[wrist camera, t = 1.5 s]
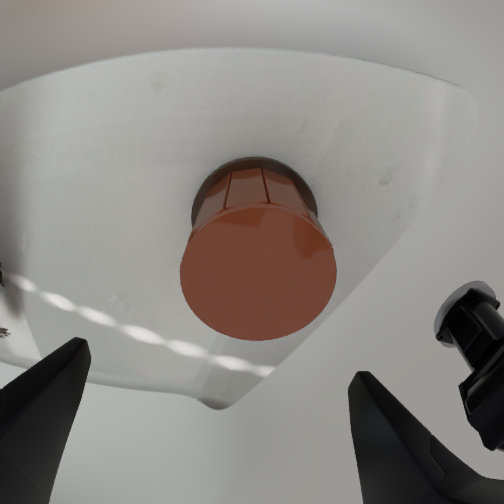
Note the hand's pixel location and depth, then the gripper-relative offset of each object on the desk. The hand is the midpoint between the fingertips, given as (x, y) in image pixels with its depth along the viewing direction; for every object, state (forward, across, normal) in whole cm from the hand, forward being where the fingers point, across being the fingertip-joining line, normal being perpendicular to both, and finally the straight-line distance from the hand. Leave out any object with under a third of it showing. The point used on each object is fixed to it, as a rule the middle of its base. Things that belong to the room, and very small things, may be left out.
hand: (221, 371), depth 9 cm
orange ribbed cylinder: (+12, -1, 0) cm, 12 cm away
